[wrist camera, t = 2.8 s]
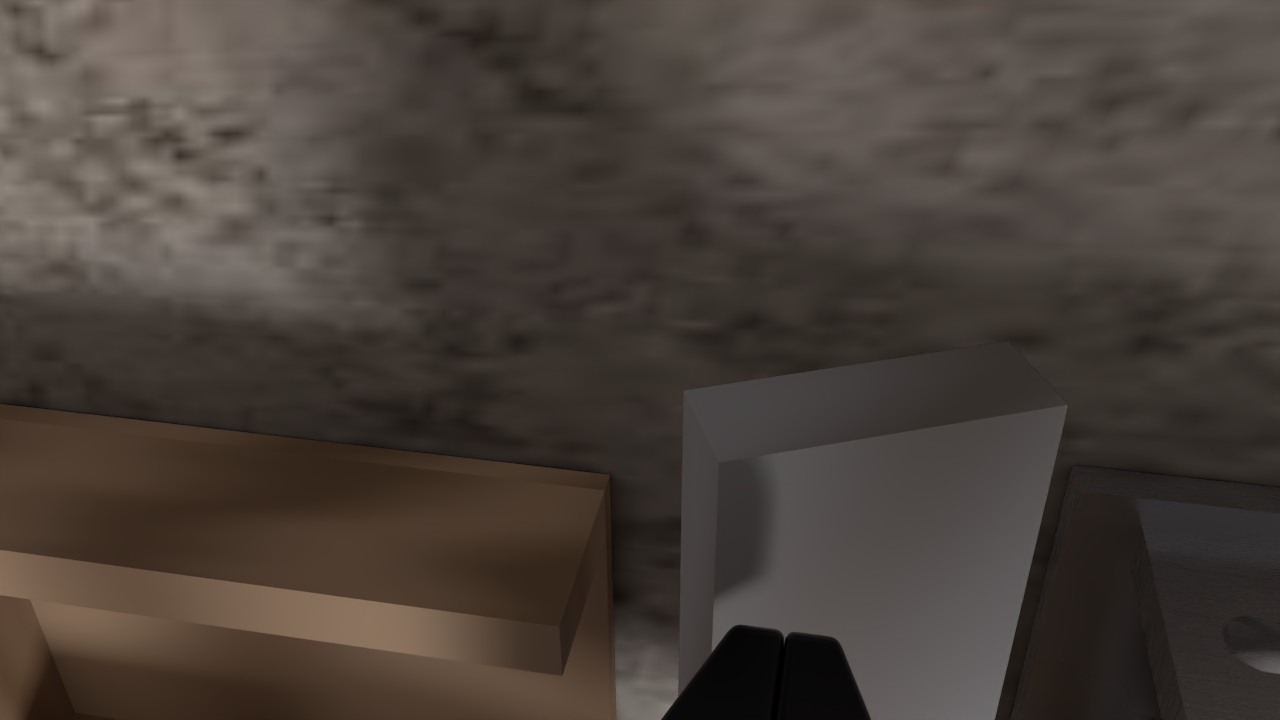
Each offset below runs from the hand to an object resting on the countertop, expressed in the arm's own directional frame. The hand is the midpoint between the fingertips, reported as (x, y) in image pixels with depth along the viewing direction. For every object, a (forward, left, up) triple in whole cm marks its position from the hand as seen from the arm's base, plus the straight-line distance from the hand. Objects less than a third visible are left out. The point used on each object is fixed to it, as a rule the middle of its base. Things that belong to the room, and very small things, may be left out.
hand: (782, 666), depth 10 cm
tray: (+10, +9, -8) cm, 16 cm away
